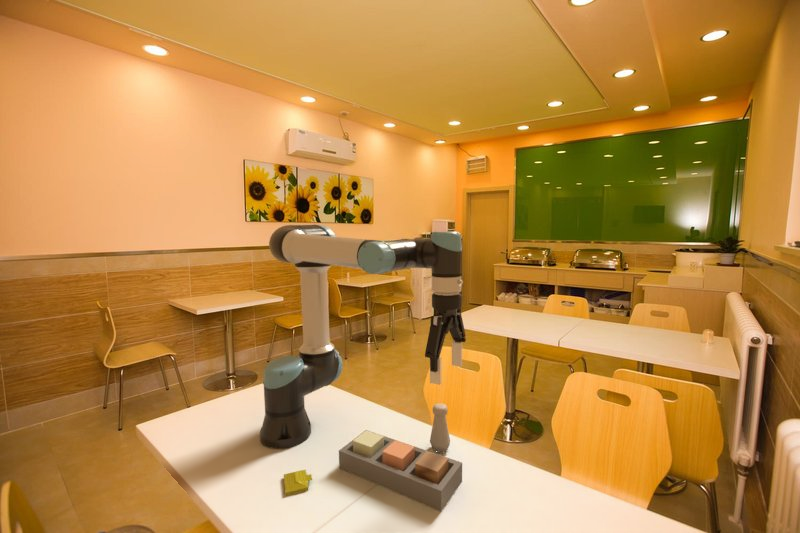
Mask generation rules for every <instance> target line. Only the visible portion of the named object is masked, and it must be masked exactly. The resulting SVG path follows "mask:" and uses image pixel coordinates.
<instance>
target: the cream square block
mask: <svg viewBox="0 0 800 533" xmlns="http://www.w3.org/2000/svg"><path fill="white" fill-rule="evenodd" d="M364 431H365V430H364ZM364 431H363V432H364ZM370 431H371V430H368V431H367V429H366V431H365V432H364V433H363V432H362V434H361V433H360V434H361V435H360V434H359V435H360V436H359V435H357V436H358V437H357V436H356V437H357V438H356V437H355V438H356V439H355V438H353V439H354V440H353V439H352V440H353V452H355V453H357V454H360V455H363V456H365V457H368V458H372V457H373V456H374V455H375V454H376V453H377V452H378V451H380V450H381V449H382V448H383V447H384V436H385V435H382V434H380V433H377V434H376V432H374V431H371V432H370ZM373 432H374V433H373ZM379 434H380V435H379ZM381 435H382V436H381Z"/></svg>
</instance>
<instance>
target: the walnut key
mask: <svg viewBox="0 0 800 533" xmlns="http://www.w3.org/2000/svg"><path fill="white" fill-rule="evenodd" d="M428 451H429V450H427V451H426V452H425V454H424V455H423V456H422V457H421V458H420V459H419V460H418V461H417V462H416V463H415V476H417V477H419V478H422V479H425V480H427V481H430V482H432V483H435V484H437V485H438V483H439V482H440V481H441V480H442V478H443V477H444V476H445V474H446V473H447V472H448V458H449V457H447V456H444V455H441V454H438V453H435V454H434V452H432V451H429V452H428ZM431 452H432V453H431ZM437 454H438V455H437ZM440 455H441V456H440ZM443 456H444V457H443ZM446 457H447V458H446Z"/></svg>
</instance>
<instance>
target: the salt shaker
mask: <svg viewBox="0 0 800 533" xmlns="http://www.w3.org/2000/svg"><path fill="white" fill-rule="evenodd" d="M448 409H449V408H448V406H447V405H446V404H445V403H440V402H439V403H435V404H434V405H433V407H432V413H433V415H434V416H433V421H432V427H431V433H430V439H429V443H430V445H431V448H432V449H433V451H434V452H436V451H437V452H436V453H441V452H443V453H445V452H446V450H447V451H448V449H449V447H450V445H451V437H450V433H449V427H448V421H447V417H446V415H448V411H449V410H448ZM444 451H445V452H444Z"/></svg>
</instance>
